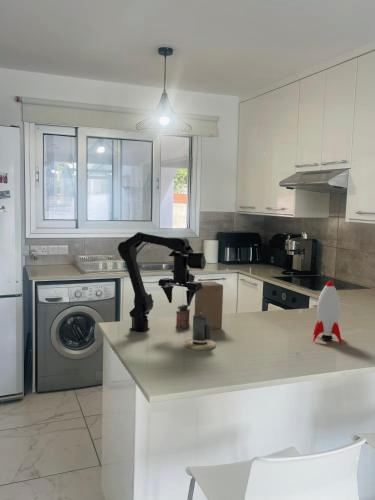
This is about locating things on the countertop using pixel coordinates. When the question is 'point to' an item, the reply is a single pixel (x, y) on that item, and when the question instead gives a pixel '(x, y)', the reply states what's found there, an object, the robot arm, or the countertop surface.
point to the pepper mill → (201, 329)
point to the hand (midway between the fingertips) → (179, 304)
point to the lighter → (182, 317)
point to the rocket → (328, 313)
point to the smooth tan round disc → (207, 346)
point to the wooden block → (210, 303)
